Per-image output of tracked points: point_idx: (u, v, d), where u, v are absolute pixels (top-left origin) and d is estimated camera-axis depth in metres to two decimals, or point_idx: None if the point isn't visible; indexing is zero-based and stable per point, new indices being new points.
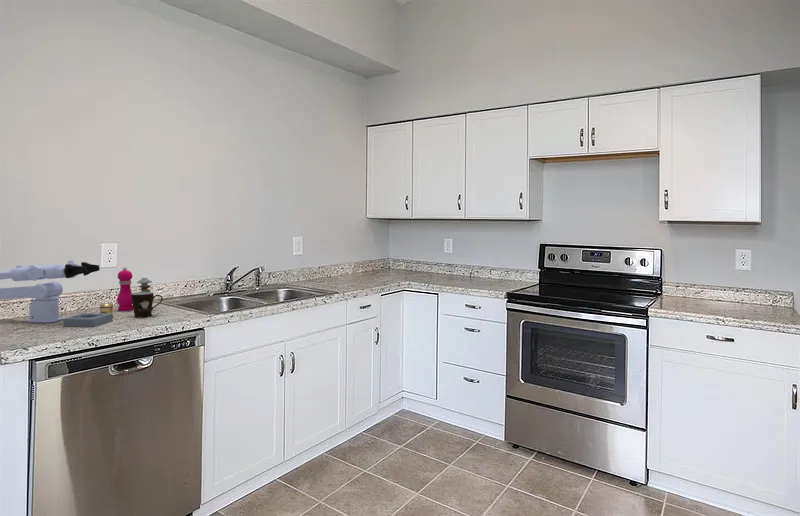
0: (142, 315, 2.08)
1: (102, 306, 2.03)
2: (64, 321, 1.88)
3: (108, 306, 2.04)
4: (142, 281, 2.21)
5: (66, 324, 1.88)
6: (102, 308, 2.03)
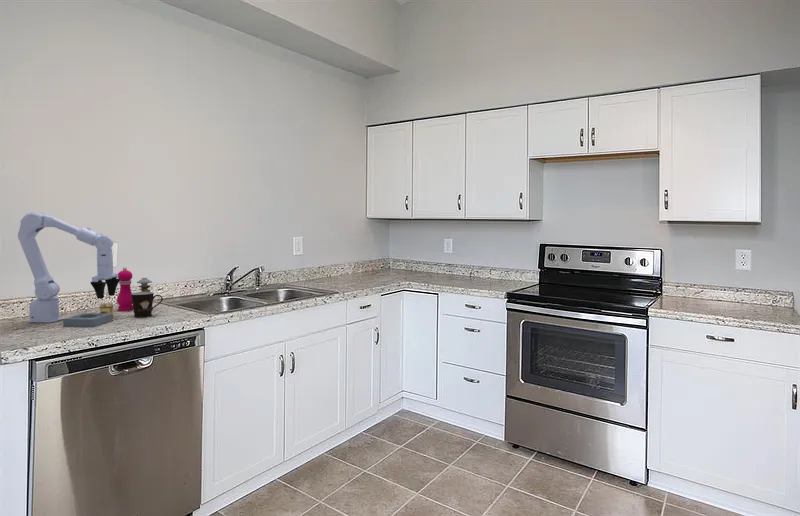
0: (142, 315, 2.08)
1: (102, 306, 2.03)
2: (64, 321, 1.88)
3: (108, 306, 2.04)
4: (142, 281, 2.21)
5: (66, 324, 1.88)
6: (102, 308, 2.03)
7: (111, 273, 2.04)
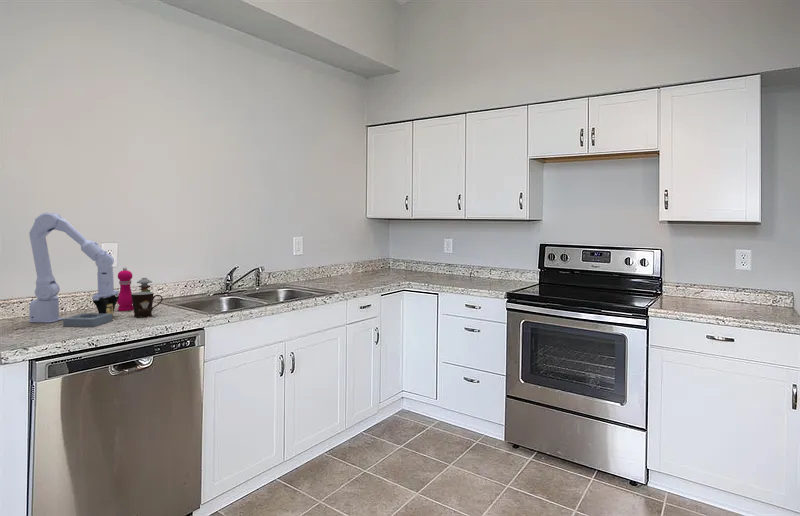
0: (142, 315, 2.08)
1: None
2: (64, 321, 1.88)
3: (108, 306, 2.04)
4: (142, 281, 2.21)
5: (66, 324, 1.88)
6: None
7: (112, 291, 2.05)
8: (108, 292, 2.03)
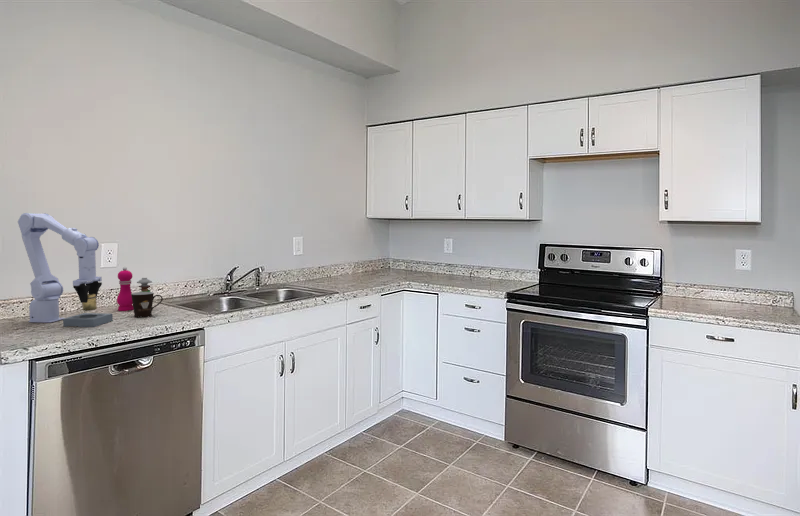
0: (142, 315, 2.08)
1: None
2: (64, 321, 1.88)
3: (90, 297, 1.92)
4: (142, 281, 2.21)
5: (66, 324, 1.88)
6: None
7: (94, 276, 1.93)
8: (90, 277, 1.91)
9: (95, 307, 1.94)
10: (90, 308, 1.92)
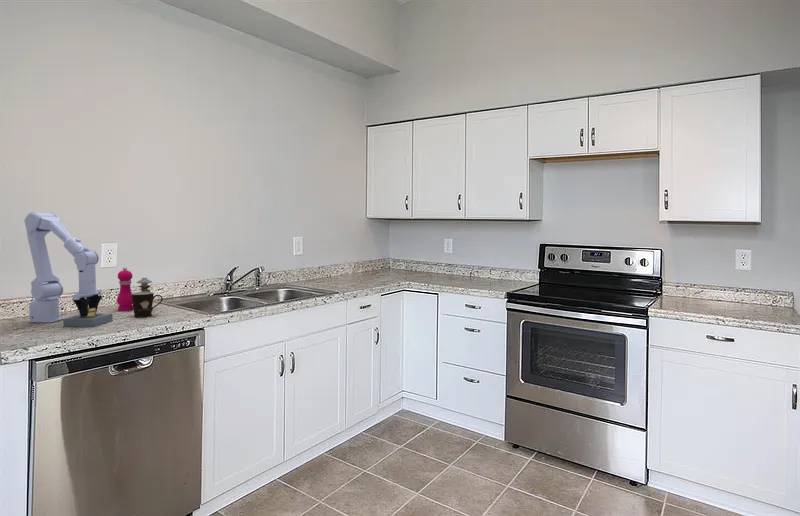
0: (142, 315, 2.08)
1: None
2: (64, 321, 1.88)
3: (90, 310, 1.92)
4: (142, 281, 2.21)
5: (66, 324, 1.88)
6: None
7: (94, 290, 1.93)
8: (90, 291, 1.92)
9: None
10: None
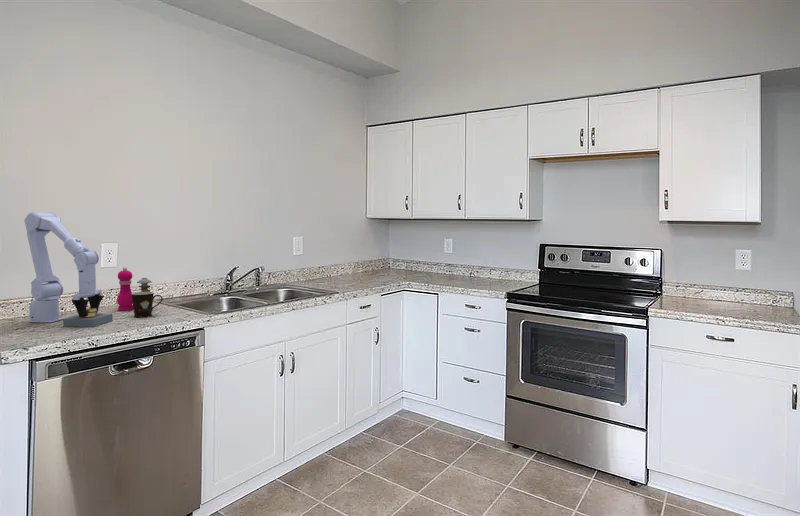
0: (142, 315, 2.08)
1: None
2: (64, 321, 1.88)
3: (91, 311, 1.93)
4: (142, 281, 2.21)
5: (66, 324, 1.88)
6: None
7: (94, 290, 1.93)
8: (90, 291, 1.92)
9: None
10: None
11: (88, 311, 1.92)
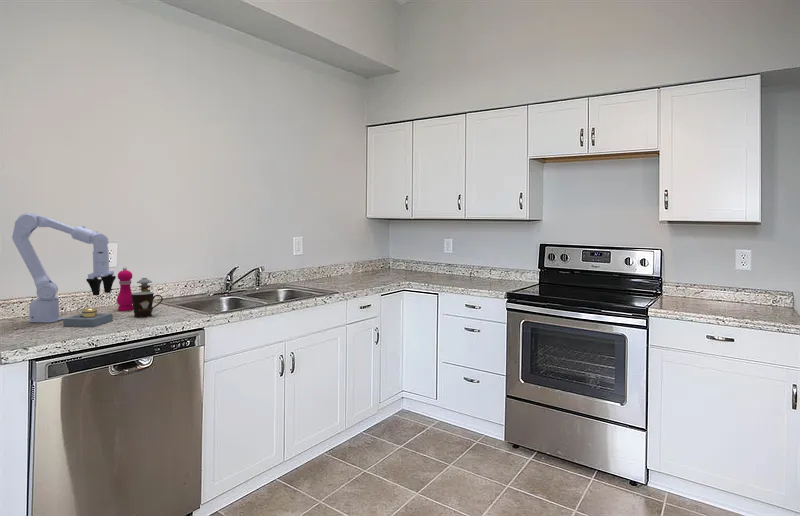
0: (142, 315, 2.08)
1: (85, 311, 1.92)
2: (64, 321, 1.88)
3: (91, 311, 1.93)
4: (142, 281, 2.21)
5: (66, 324, 1.88)
6: (85, 313, 1.92)
7: (107, 270, 2.06)
8: (103, 271, 2.05)
9: None
10: None
11: (88, 311, 1.92)
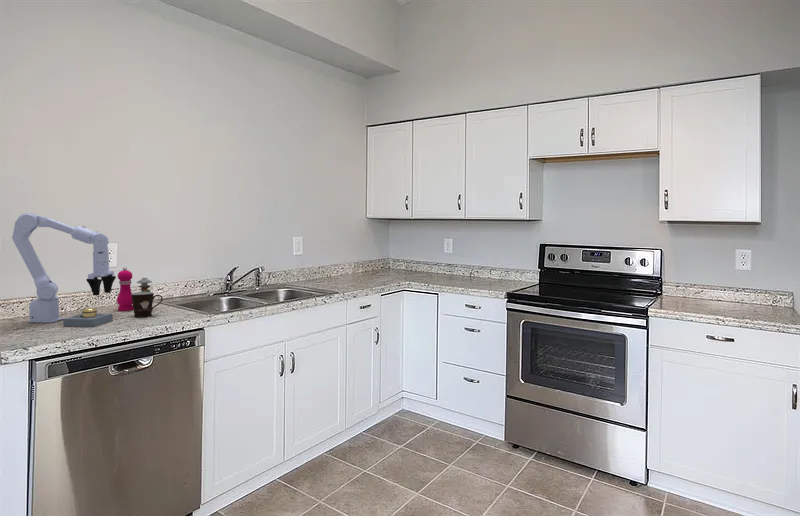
0: (142, 315, 2.08)
1: (85, 311, 1.92)
2: (64, 321, 1.88)
3: (91, 311, 1.93)
4: (142, 281, 2.21)
5: (66, 324, 1.88)
6: (85, 313, 1.92)
7: (107, 270, 2.06)
8: (103, 271, 2.05)
9: None
10: None
11: (88, 311, 1.92)
